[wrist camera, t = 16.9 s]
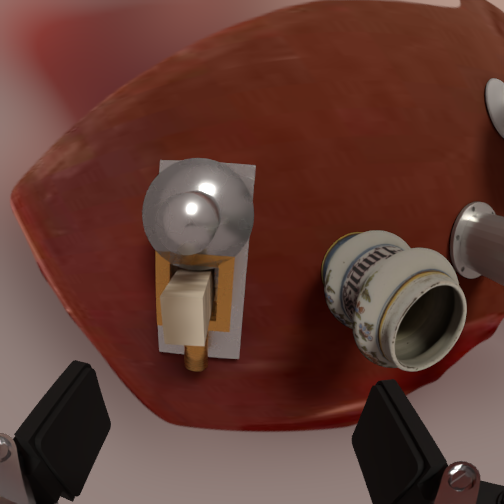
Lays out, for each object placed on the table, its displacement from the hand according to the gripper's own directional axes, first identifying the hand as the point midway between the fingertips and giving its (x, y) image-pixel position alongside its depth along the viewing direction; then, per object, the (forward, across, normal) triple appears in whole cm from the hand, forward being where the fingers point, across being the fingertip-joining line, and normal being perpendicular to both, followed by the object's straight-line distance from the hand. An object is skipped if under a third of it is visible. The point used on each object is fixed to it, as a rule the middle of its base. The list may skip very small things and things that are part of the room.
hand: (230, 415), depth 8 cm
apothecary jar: (+29, -15, +3) cm, 32 cm away
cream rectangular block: (+26, +5, +4) cm, 27 cm away
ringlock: (+28, +5, +3) cm, 28 cm away
